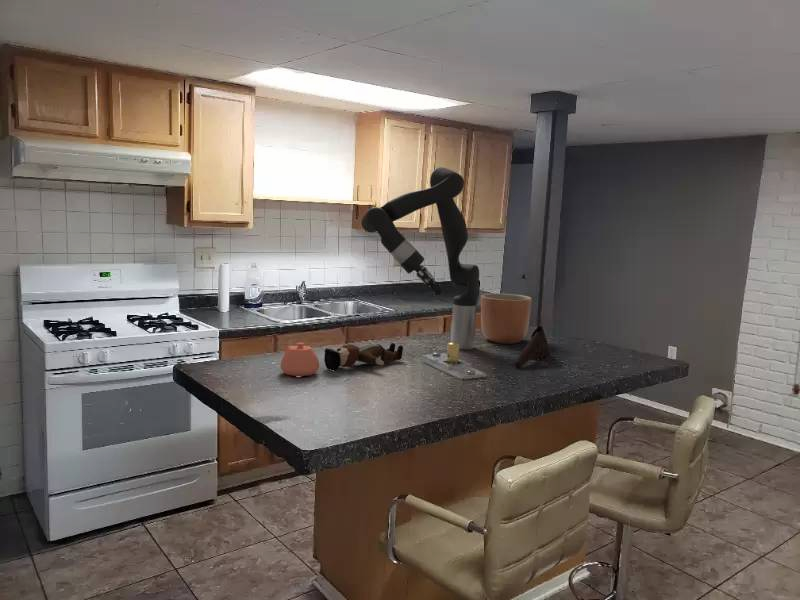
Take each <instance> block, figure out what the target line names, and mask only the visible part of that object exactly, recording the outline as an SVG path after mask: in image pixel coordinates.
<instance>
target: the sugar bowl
mask: <svg viewBox="0 0 800 600" xmlns="http://www.w3.org/2000/svg"><path fill="white" fill-rule="evenodd" d="M280 369H281V371H282V372H283V373H284V374H285V373H286V375H288V376H295V377H296V376H302V377H303V376H305V377H306V376H313V375H314V374H316V372H317V371H318V370H319V369H320V361H319V357H318V355H317V354H316V352H315V350H314V349H313V347H311V346H309V345H305V342H296V345H287V346H286V347H285V348H284V354H283V356H282V358H281V361H280ZM312 374H313V375H312Z"/></svg>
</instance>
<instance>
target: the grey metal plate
mask: <svg viewBox="0 0 800 600" xmlns="http://www.w3.org/2000/svg"><path fill="white" fill-rule="evenodd" d="M421 363H423V364H426V365H427V366H431V367H432V368H435V369H437V370H439V371H441V372H444V373H446V374H448V375H450V376H452V377H454V378H456V377H457V379H459V380H461V381H463V379H464V380H471V379H472V378H473V379H480V378H481V377H483V378H486V377H487V373H485V372H484V371H480V370H478V369H476V368H474V367H473V364H472V363H470V362H468V361H465V360H463V359H460V358H459V360H458V364H452V365H450V364H447V352H443V353H441V352H438V351H433V352H432V353H429V354H422V355H421Z"/></svg>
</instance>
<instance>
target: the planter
mask: <svg viewBox="0 0 800 600" xmlns="http://www.w3.org/2000/svg"><path fill="white" fill-rule="evenodd" d="M480 298H481V299H480V321H481V323H480V324H481V331H482V333H483V336H484V337H485V338H486V339H487V340H489V341H490V342H492V343H497V344H507V345H509V344H510V345H511V344H517V343H519V342H521V341H522V340H523V339H524V338H525V337H526V335H527V334H528V329H529V323H530V316H531V309H532V307H531V306H532V297H531V296H527V295H523V294H516V293H515V294H513V293H495V292H494V293H484V294H482V295H481V297H480Z"/></svg>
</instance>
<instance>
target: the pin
mask: <svg viewBox="0 0 800 600" xmlns="http://www.w3.org/2000/svg"><path fill="white" fill-rule="evenodd" d="M446 346H447V348H446V354H447V364H450V365H452V364H458V360H459V359H460V357H459V355H460V349H459V343H456V342H450V341H449V342H447V344H446Z"/></svg>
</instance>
